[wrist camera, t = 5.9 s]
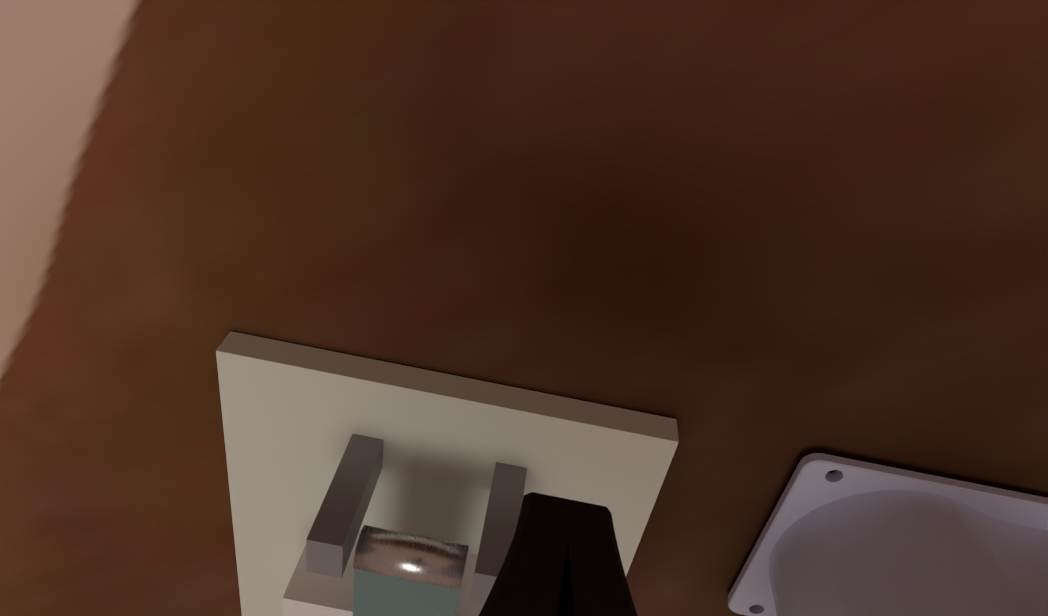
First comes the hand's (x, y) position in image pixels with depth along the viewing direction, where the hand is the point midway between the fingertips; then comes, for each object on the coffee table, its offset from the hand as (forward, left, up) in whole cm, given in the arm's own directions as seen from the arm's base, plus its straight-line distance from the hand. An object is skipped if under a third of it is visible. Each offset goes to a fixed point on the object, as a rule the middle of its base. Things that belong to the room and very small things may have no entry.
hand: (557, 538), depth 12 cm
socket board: (+3, +16, -9) cm, 19 cm away
